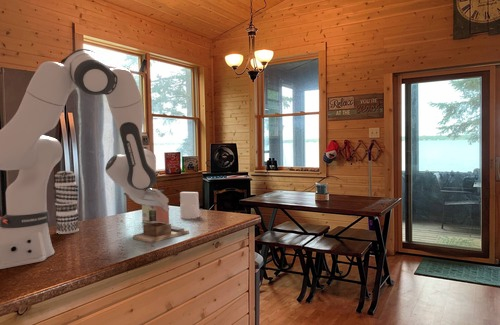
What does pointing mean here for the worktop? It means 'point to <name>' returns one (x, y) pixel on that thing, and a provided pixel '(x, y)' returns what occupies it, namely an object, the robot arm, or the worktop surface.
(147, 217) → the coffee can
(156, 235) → the jig
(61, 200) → the decorative candle
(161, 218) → the red rectangular block
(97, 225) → the worktop surface
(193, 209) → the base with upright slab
